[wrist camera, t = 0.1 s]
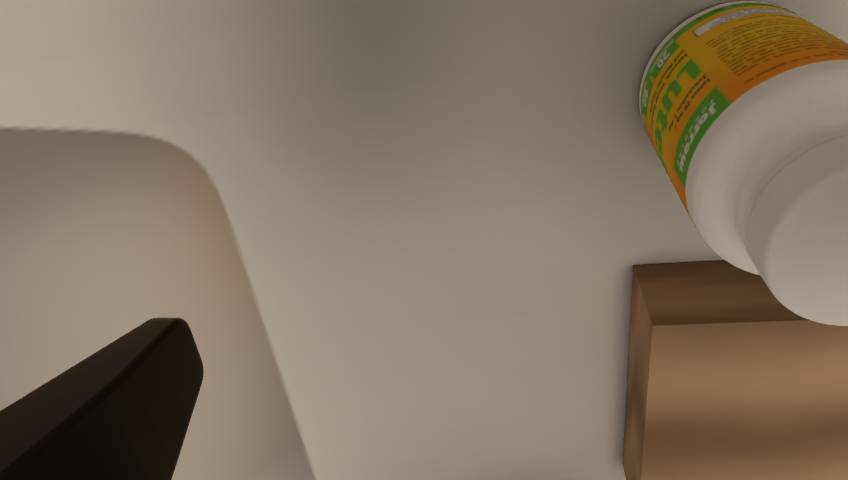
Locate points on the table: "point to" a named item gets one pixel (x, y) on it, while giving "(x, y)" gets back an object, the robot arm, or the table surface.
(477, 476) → the table surface
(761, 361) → the block
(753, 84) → the supplement bottle
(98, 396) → the robot arm
